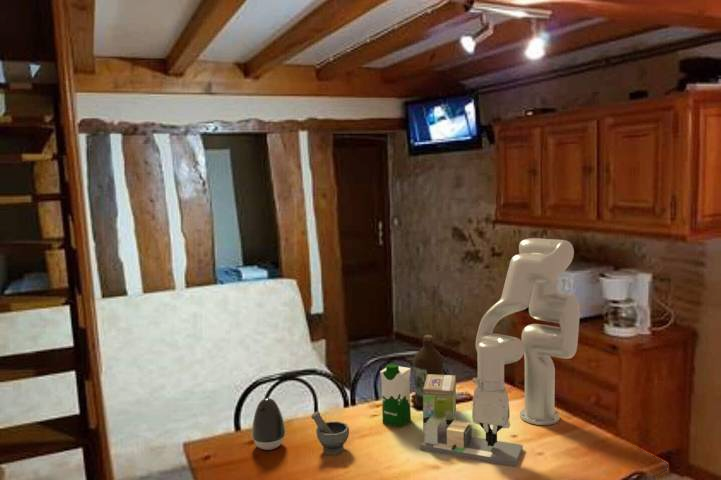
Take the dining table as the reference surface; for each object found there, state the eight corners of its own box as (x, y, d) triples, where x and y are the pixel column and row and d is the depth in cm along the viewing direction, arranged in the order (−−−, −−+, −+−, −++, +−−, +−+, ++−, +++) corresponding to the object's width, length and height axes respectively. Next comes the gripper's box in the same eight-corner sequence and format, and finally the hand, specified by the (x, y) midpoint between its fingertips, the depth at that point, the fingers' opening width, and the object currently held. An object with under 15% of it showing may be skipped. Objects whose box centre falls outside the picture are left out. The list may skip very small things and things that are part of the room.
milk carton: (378, 424, 196) (377, 365, 194) (392, 414, 204) (390, 357, 201) (402, 429, 191) (400, 369, 189) (414, 419, 199) (413, 361, 197)
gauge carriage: (453, 435, 182) (453, 420, 181) (472, 439, 179) (472, 423, 179) (444, 449, 173) (444, 432, 173) (463, 452, 171) (463, 436, 170)
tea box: (454, 435, 186) (453, 390, 184) (422, 433, 188) (421, 388, 186) (456, 416, 200) (455, 374, 199) (426, 414, 202) (426, 373, 201)
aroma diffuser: (246, 451, 179) (243, 403, 178) (263, 436, 189) (260, 391, 187) (275, 456, 176) (273, 407, 174) (291, 441, 186) (289, 394, 184)
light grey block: (434, 431, 185) (433, 413, 185) (446, 433, 184) (446, 415, 183) (424, 443, 177) (424, 424, 177) (437, 446, 176) (437, 426, 175)
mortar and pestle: (350, 442, 183) (348, 405, 182) (349, 456, 174) (348, 417, 173) (313, 443, 184) (312, 406, 182) (311, 457, 174) (309, 418, 173)
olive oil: (430, 396, 219) (428, 330, 216) (450, 404, 210) (449, 336, 207) (408, 403, 213) (406, 335, 210) (427, 412, 204) (426, 342, 201)
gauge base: (432, 434, 187) (432, 429, 187) (522, 449, 175) (522, 444, 175) (420, 449, 177) (420, 444, 177) (515, 466, 165) (515, 461, 165)
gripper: (462, 385, 171) (463, 445, 173) (514, 391, 164) (514, 454, 167) (469, 376, 178) (469, 435, 180) (519, 382, 171) (519, 443, 173)
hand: (491, 444), depth 173 cm, fingers closed
